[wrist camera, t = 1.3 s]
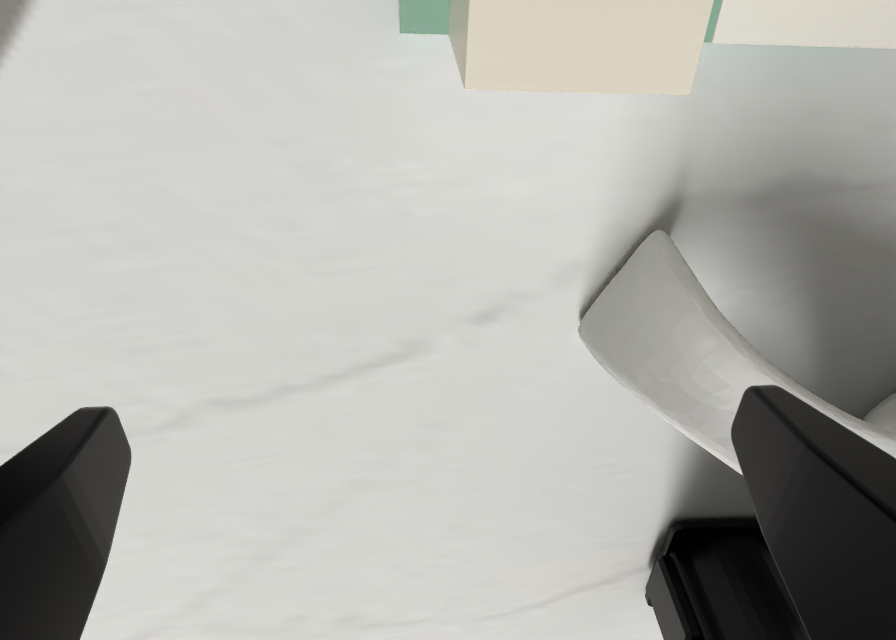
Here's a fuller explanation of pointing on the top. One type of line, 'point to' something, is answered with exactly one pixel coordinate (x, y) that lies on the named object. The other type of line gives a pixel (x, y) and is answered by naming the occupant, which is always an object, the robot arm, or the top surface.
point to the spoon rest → (693, 353)
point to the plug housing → (579, 44)
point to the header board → (742, 22)
